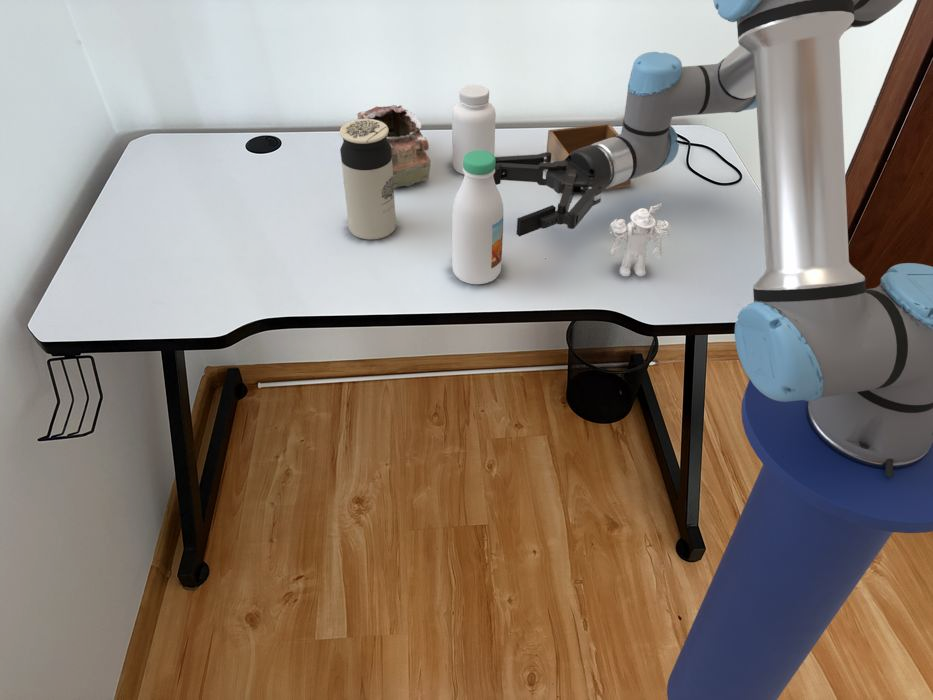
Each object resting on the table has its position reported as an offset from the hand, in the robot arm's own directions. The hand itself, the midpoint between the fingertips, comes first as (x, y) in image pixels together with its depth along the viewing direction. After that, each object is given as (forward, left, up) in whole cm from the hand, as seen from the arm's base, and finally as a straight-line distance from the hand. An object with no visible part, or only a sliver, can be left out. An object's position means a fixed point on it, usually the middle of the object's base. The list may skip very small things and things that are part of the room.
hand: (490, 206), depth 114 cm
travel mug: (+15, +16, -11) cm, 25 cm away
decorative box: (+35, +10, -11) cm, 38 cm away
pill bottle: (+31, -6, -11) cm, 33 cm away
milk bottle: (-1, +2, -11) cm, 11 cm away
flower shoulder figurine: (-7, -22, -11) cm, 25 cm away
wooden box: (+23, -26, -11) cm, 36 cm away
